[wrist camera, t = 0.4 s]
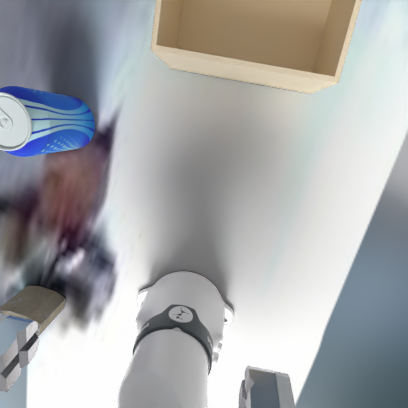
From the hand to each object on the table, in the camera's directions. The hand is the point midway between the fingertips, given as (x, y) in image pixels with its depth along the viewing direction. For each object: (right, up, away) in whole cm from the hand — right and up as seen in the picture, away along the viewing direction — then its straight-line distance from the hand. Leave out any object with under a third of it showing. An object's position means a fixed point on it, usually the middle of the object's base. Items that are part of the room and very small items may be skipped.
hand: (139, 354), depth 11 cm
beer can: (-19, +19, +38) cm, 47 cm away
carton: (+10, +33, +32) cm, 47 cm away
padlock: (-29, -13, +48) cm, 58 cm away
